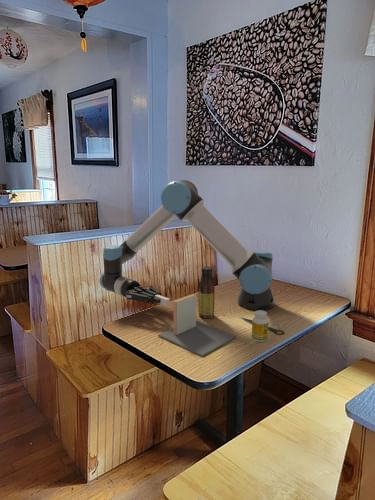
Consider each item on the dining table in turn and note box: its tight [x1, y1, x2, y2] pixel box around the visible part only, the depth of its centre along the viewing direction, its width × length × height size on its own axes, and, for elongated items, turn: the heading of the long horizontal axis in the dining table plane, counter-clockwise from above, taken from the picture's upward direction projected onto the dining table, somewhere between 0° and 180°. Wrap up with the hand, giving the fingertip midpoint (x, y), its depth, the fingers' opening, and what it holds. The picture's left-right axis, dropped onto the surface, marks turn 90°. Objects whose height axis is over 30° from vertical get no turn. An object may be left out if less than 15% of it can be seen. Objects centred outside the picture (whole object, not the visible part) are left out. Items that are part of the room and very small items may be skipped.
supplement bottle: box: [251, 310, 269, 343], centre depth 124 cm, size 5×5×10 cm
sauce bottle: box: [197, 265, 216, 319], centre depth 141 cm, size 7×6×20 cm
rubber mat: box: [158, 320, 238, 358], centre depth 126 cm, size 20×18×1 cm
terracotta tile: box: [172, 293, 197, 335], centre depth 128 cm, size 2×10×12 cm, turn 137°
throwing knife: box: [239, 316, 285, 336], centre depth 136 cm, size 4×20×1 cm, turn 43°
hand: (168, 302), depth 134 cm, fingers closed
